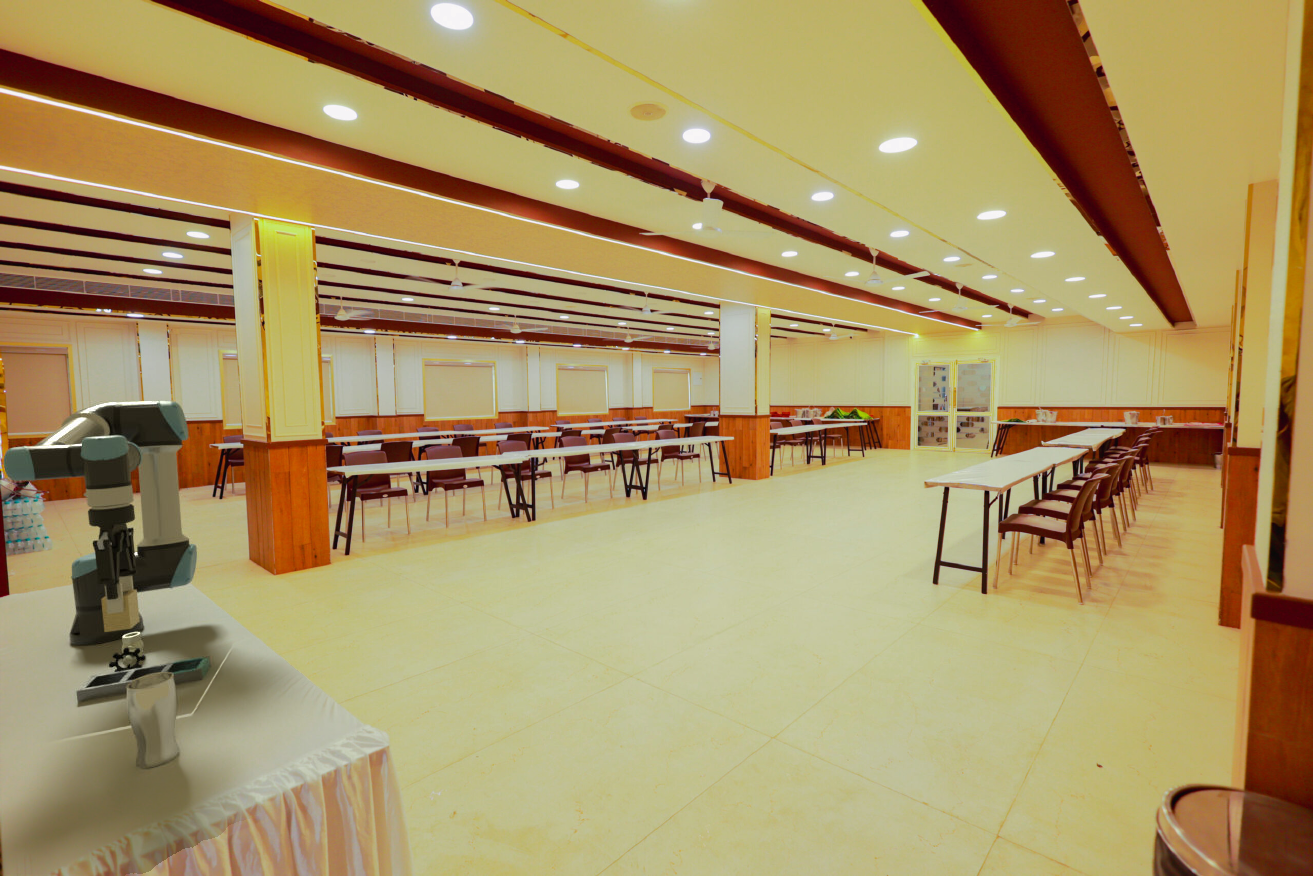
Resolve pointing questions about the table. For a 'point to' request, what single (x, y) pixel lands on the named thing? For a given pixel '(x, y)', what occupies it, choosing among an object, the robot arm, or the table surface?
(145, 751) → the beer glass
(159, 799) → the table surface
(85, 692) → the divided tray
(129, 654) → the valve
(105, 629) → the hollow square tube
